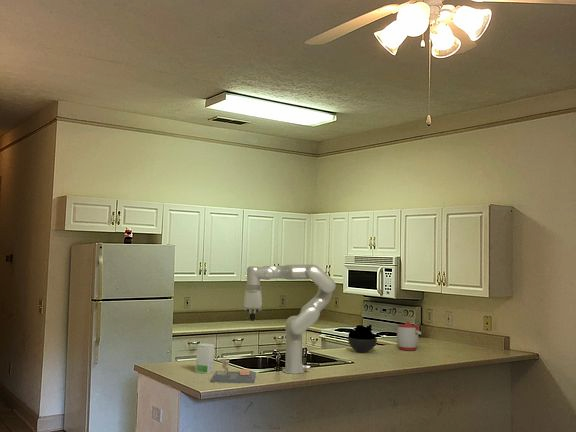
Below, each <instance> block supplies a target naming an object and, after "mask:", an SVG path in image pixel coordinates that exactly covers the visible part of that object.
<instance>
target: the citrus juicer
mask: <svg viewBox="0 0 576 432" xmlns="http://www.w3.org/2000/svg"><path fill="white" fill-rule="evenodd" d="M419 335H422V332H421V331H420V326H419V325H417V324H412V323H411V322H409V321H408V320H407V321H406V322H405V323H403V324H402V323H401V324H396V342H397V345H398V349H399V350H401V351H408V352H409V351H410V352H412V351H416V350H417V348H418V344H419Z"/></svg>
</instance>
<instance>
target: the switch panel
mask: <svg viewBox="0 0 576 432" xmlns="http://www.w3.org/2000/svg"><path fill="white" fill-rule="evenodd" d="M218 372H222V370H216V371H215V372H214V373H213V376H212V377H211V383H215V382H222V383H225V384H226V383H227V384H228V383H229V384H235V383H236V384H255V381H256V375H257V372H256V371H250V375H240V371H231V370H230V371H229V370H228V372H227V375H217V373H218ZM222 383H221V384H222Z"/></svg>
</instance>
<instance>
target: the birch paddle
mask: <svg viewBox="0 0 576 432" xmlns="http://www.w3.org/2000/svg"><path fill="white" fill-rule="evenodd" d="M229 363H230V359H222V360H221V364H222V367H221V371H222V372H228V371H229Z"/></svg>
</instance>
